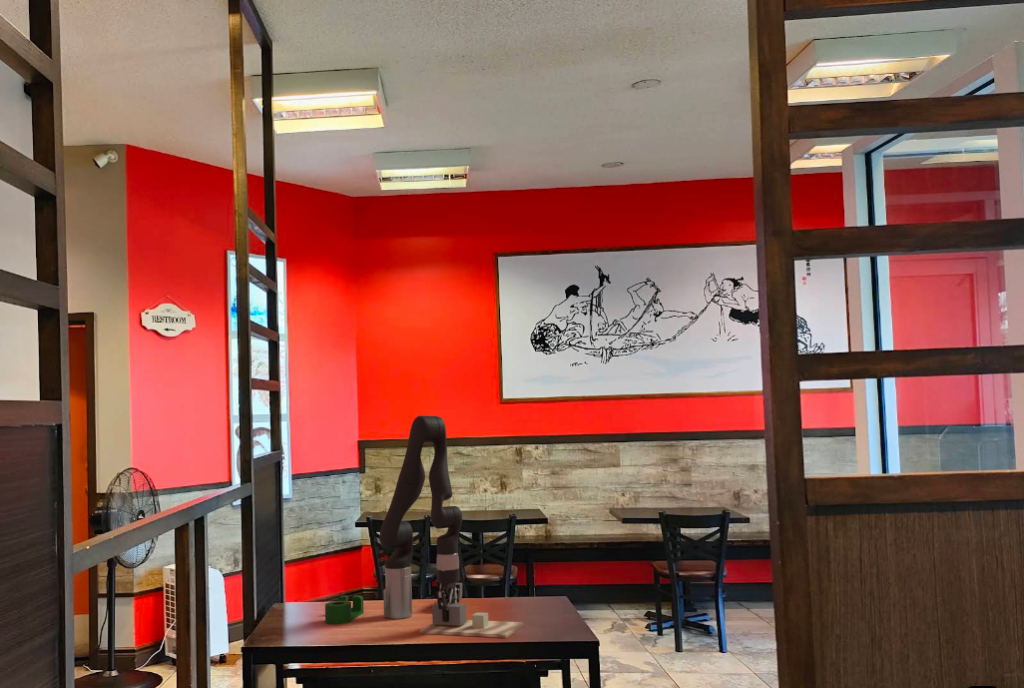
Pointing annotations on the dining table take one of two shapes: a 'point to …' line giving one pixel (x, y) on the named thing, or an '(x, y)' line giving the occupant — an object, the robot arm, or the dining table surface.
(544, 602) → the dining table surface
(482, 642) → the dining table surface
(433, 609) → the block
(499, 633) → the plywood board
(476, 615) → the wood offcut
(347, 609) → the green bracket
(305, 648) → the dining table surface
